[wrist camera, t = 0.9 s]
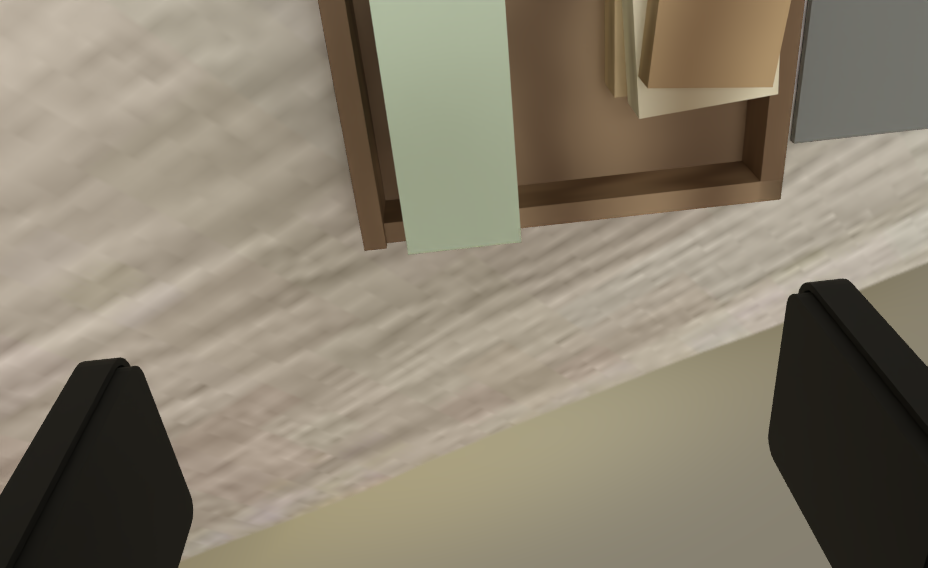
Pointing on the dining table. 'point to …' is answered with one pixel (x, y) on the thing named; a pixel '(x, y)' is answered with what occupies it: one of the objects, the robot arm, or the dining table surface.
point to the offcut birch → (670, 99)
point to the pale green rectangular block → (449, 120)
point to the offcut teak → (712, 43)
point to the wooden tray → (571, 126)
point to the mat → (862, 69)
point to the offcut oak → (615, 49)
